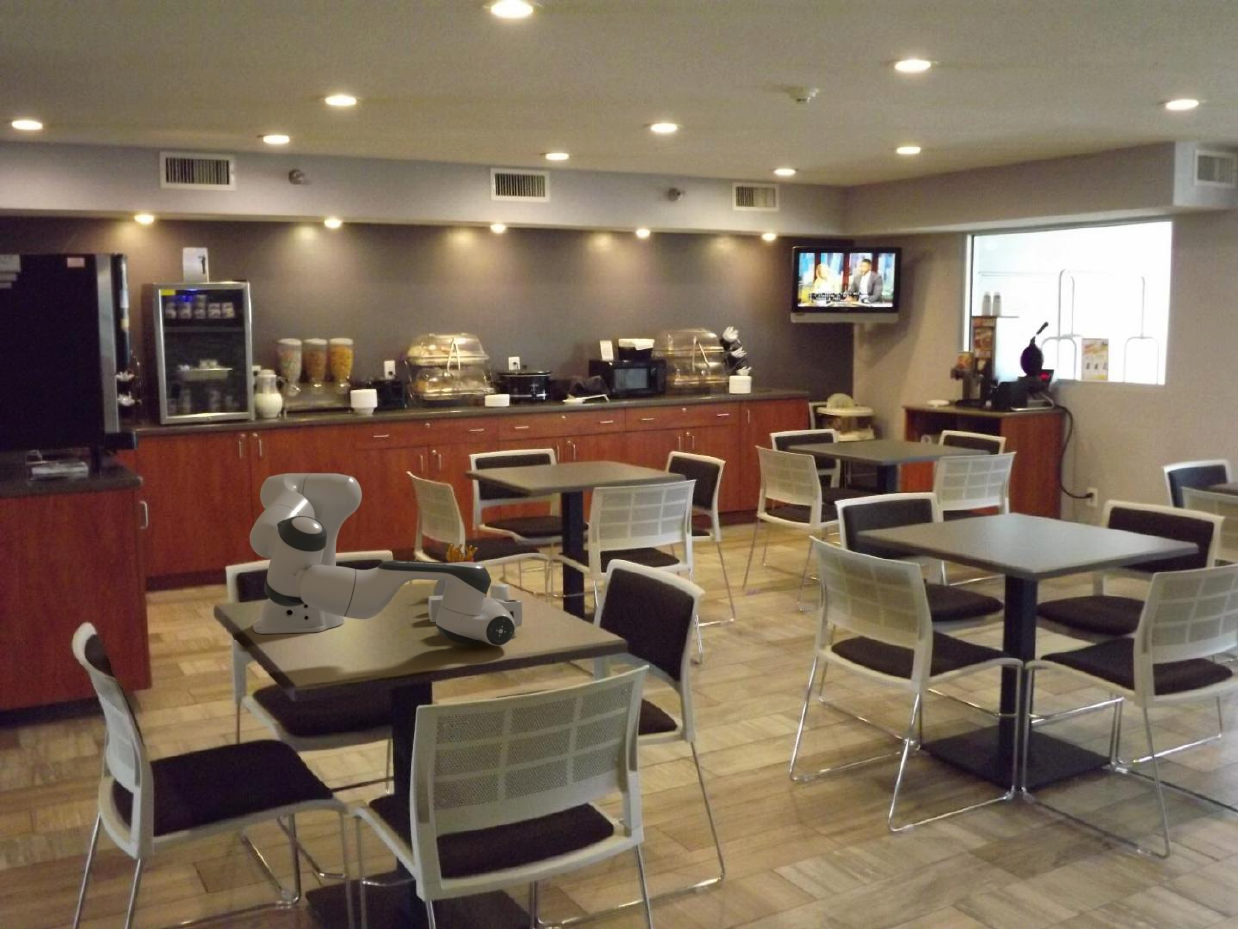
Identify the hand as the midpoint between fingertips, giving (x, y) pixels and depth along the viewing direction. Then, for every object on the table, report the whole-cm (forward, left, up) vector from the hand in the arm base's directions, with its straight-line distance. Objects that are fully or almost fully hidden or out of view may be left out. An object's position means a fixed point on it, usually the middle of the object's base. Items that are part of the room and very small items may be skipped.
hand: (476, 604), depth 298 cm
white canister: (+8, +9, -5) cm, 13 cm away
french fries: (+3, +38, -5) cm, 38 cm away
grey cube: (-8, +9, -5) cm, 13 cm away
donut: (-3, +20, -5) cm, 21 cm away
